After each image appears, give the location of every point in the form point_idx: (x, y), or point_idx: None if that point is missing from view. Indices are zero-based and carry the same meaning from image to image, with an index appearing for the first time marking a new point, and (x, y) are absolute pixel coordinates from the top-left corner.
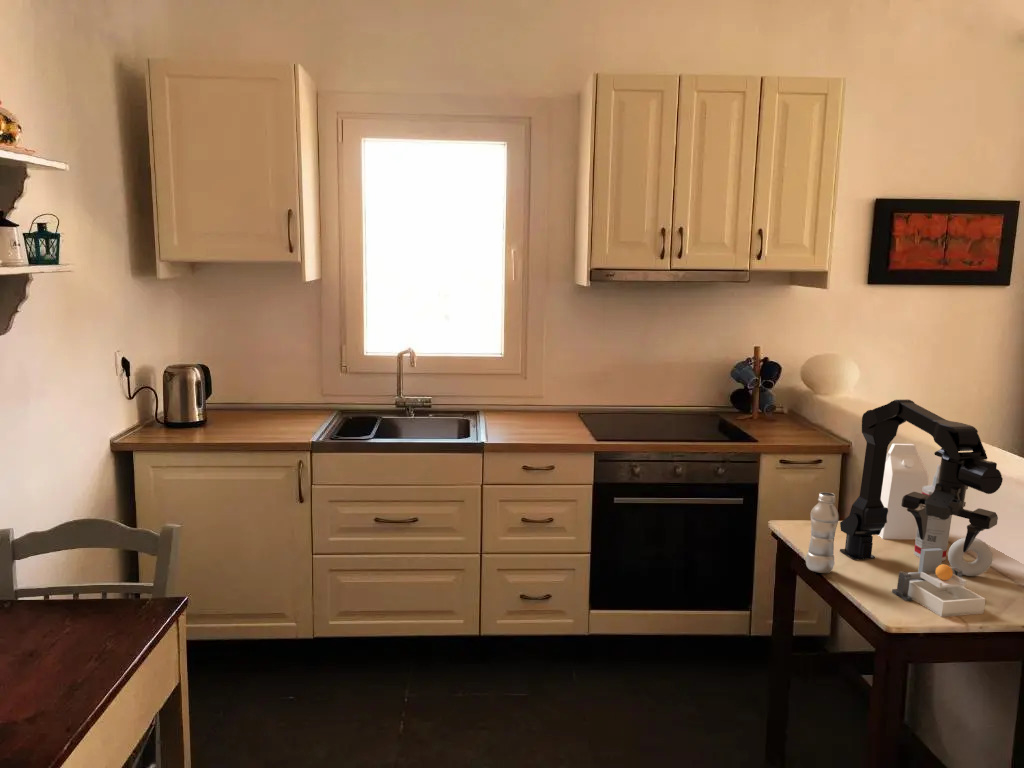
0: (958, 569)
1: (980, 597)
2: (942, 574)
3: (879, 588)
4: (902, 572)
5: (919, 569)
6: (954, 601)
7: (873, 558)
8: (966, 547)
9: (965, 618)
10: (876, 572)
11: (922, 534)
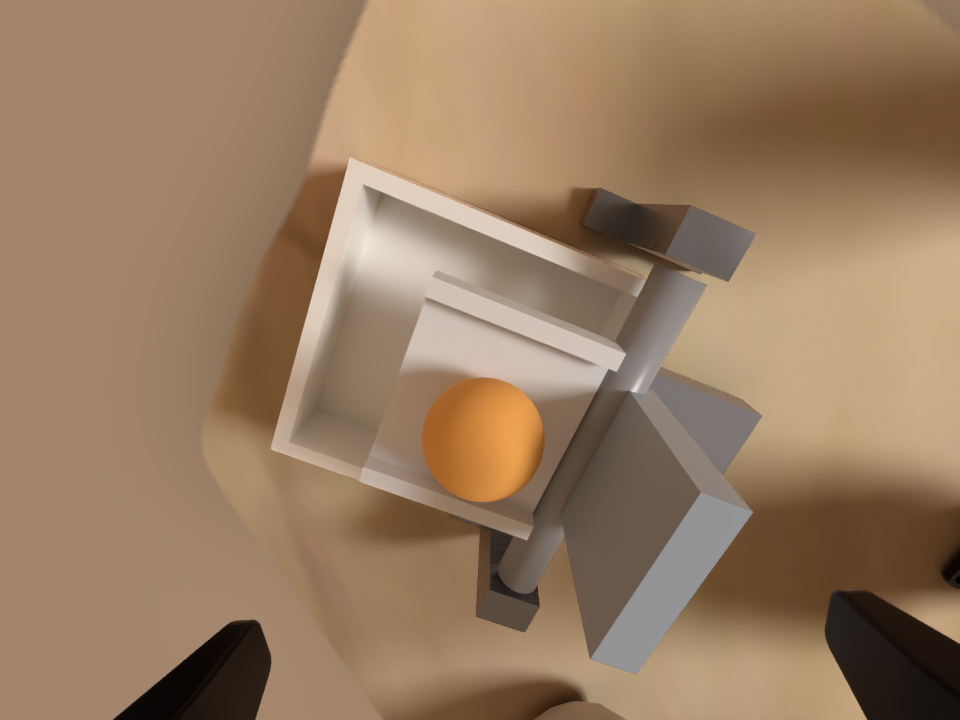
0: (504, 622)
1: (294, 444)
2: (465, 384)
3: (786, 227)
4: (731, 245)
5: (658, 403)
6: (326, 247)
7: (950, 566)
8: (155, 686)
9: (308, 274)
10: (878, 427)
11: (918, 660)
